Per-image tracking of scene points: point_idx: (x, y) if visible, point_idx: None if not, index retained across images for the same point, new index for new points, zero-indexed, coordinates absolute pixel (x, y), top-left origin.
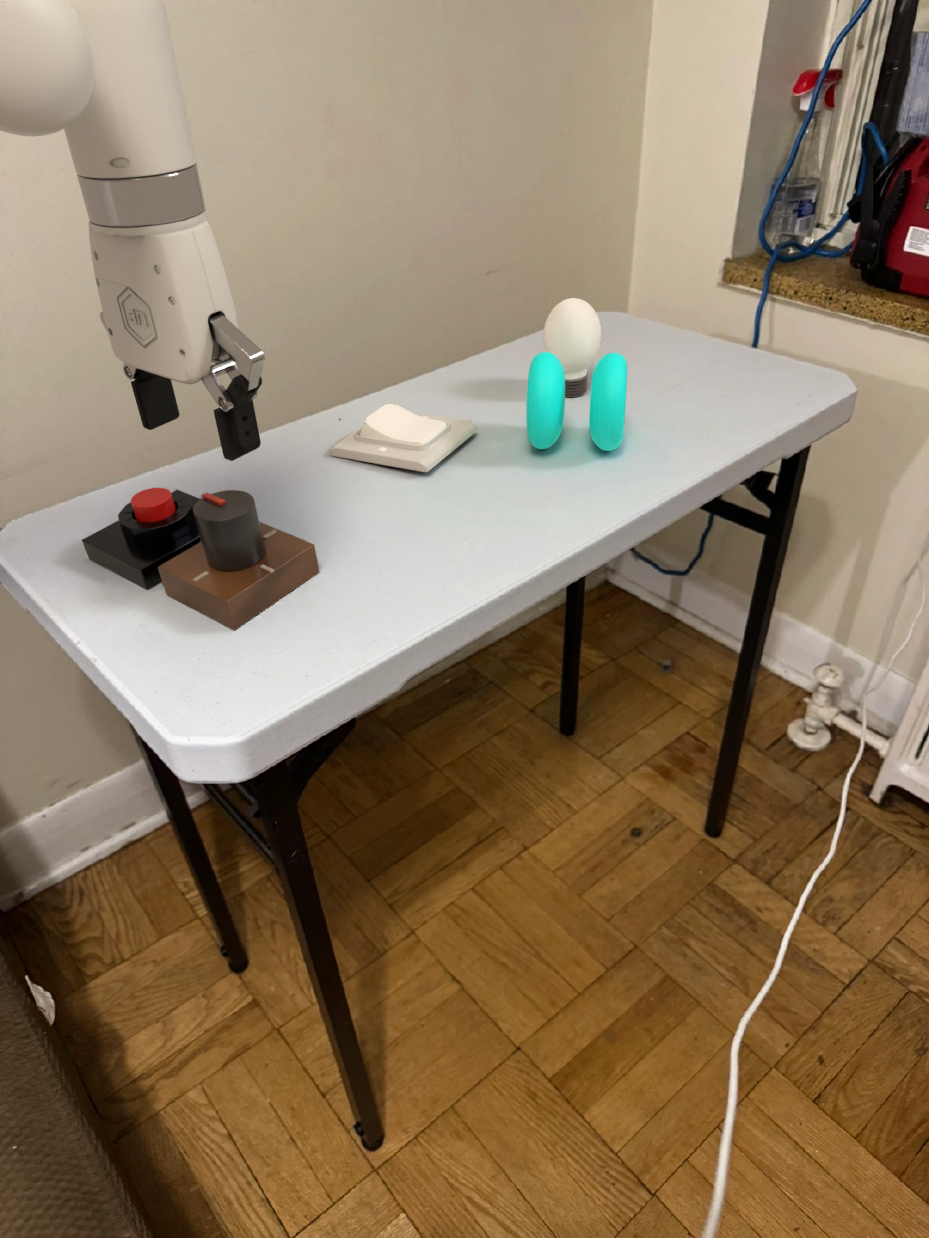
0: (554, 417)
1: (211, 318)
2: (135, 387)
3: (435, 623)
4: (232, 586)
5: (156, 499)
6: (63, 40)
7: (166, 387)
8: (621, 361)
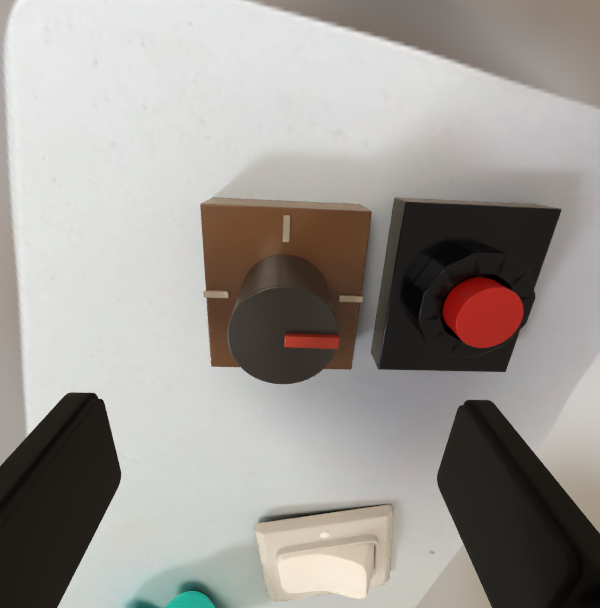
0: None
1: None
2: (579, 545)
3: (27, 338)
4: (224, 236)
5: (475, 318)
6: None
7: (492, 576)
8: None
